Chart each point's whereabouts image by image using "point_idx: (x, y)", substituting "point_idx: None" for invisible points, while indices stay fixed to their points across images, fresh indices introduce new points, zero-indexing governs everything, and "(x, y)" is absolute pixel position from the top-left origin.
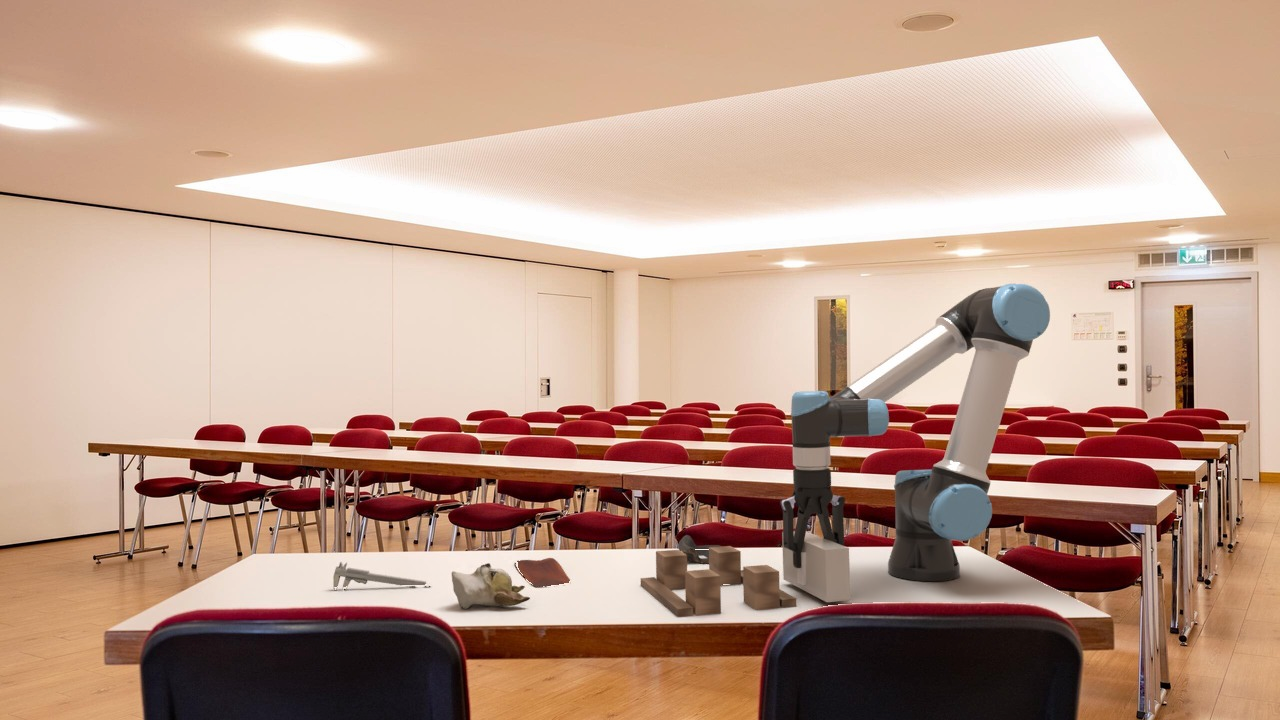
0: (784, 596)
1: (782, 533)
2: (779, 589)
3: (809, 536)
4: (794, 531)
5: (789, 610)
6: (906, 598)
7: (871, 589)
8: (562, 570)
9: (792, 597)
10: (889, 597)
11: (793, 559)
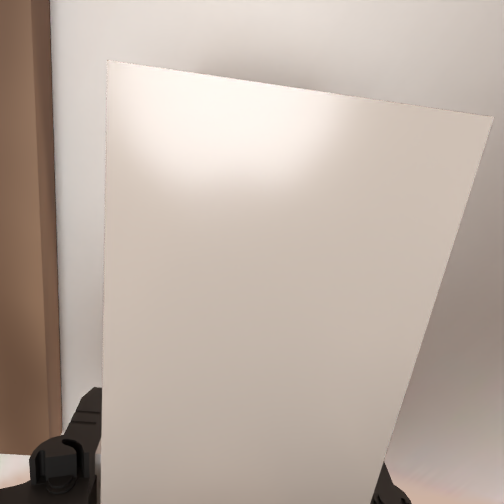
0: (12, 417)
1: (111, 77)
2: (39, 311)
3: (279, 478)
4: (324, 111)
5: (12, 461)
6: (492, 476)
7: (497, 338)
8: None
9: (41, 439)
10: (455, 449)
11: (69, 430)
